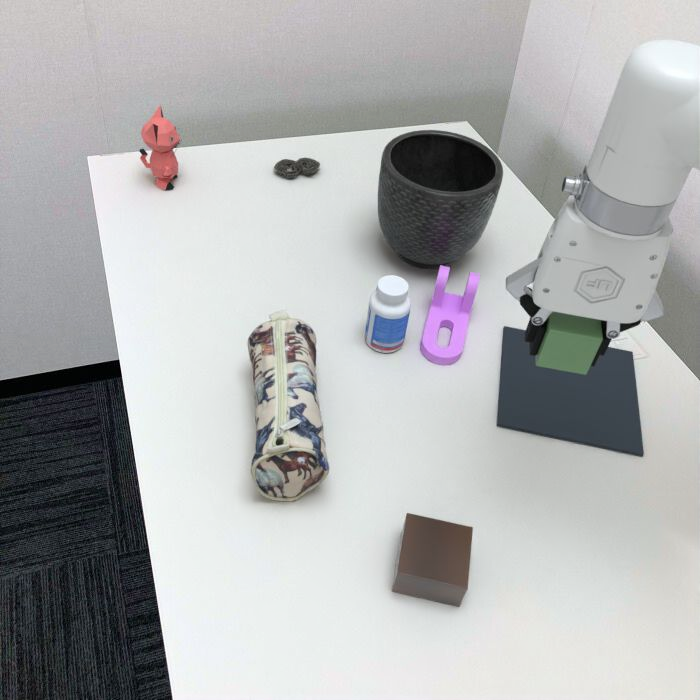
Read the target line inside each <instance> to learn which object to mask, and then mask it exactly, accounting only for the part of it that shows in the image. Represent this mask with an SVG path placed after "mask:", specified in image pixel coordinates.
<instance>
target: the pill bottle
mask: <svg viewBox="0 0 700 700" xmlns="http://www.w3.org/2000/svg"><path fill="white" fill-rule="evenodd" d="M409 287H410V286H409V284H408V281H407V280H406V279H405V278H403V277H401V276H399V275H394V274H387V275H384V276H381V277H380V278H379V279H378V280H377V283H376V288H375V290H374V291H373V292H372V293H371V295H370V297H369V301H368V302H369V303H368V309H367V316H366V323H365V329H364V330H365V331H364V340H365V343H366V345H368V346H369V348H371V349H372V350H373V351H376V352H379V353H383V354H385V353H386V354H389V353H395V352H397V351H399V350H400V349H401V348H402V347H403V345H404V343H405V340H406V334H407V328H408V323H409V318H410V314H411V309H412V301H411V298H410V297H409Z"/></svg>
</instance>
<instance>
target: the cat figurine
mask: <svg viewBox="0 0 700 700" xmlns="http://www.w3.org/2000/svg"><path fill="white" fill-rule="evenodd" d="M177 128H178V130H180V128H179V127H177V126H174V124H173V122H172V121H170V120H169V119H167V118H166V117H164V114H163V109H162V104H161V103H160V104H159V106H158V107H157V109H156V110H155V112H154V114H153V115H152V116H151V117H150V119H149V120H148V121H147V122H146V123H145V124H143V126H142V129H141V131H140V135H141V138H142V141H143V142H144V144H145V145H146V147H148V148H150V149H151V155H150V156H149V162H148V160H147V157H148V155H149V154H148V152H147V151H146V150H145V149H144V148H139V151H138V152H139V153H140V154H141V155H140V157H139V159H140V161H141V163H142V164H143V165H144V167H145V169H150V171H151V174H152V176H153V177H155V178H156V180H155V182H154V185H155V186H156V187H157V188H158V189H161V190H163V191H173V190H174V189H175V186H174V184H173V183H172V181H173V180H175V179H177V178H178V174H179V162H178V159H177V156H176V152H177V149H178V148H179V145H180V144H181V143H182V140H183V139H181V138H180V134H178V132H177ZM174 149H175V150H174Z"/></svg>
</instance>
